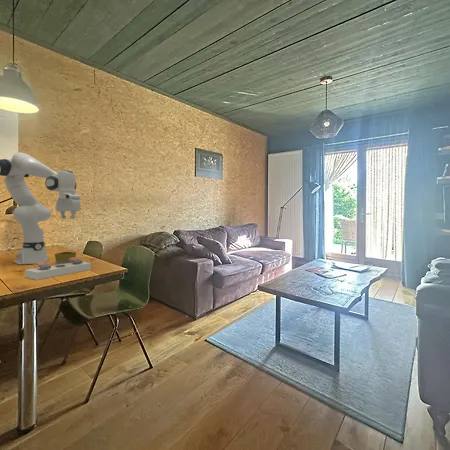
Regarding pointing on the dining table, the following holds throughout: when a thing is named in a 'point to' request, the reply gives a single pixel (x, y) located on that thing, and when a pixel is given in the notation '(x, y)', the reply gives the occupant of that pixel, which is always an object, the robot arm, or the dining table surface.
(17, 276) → the dining table surface
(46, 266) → the rocker near
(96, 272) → the dining table surface
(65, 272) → the power strip
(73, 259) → the rocker far
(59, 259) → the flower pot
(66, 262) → the rocker middle
